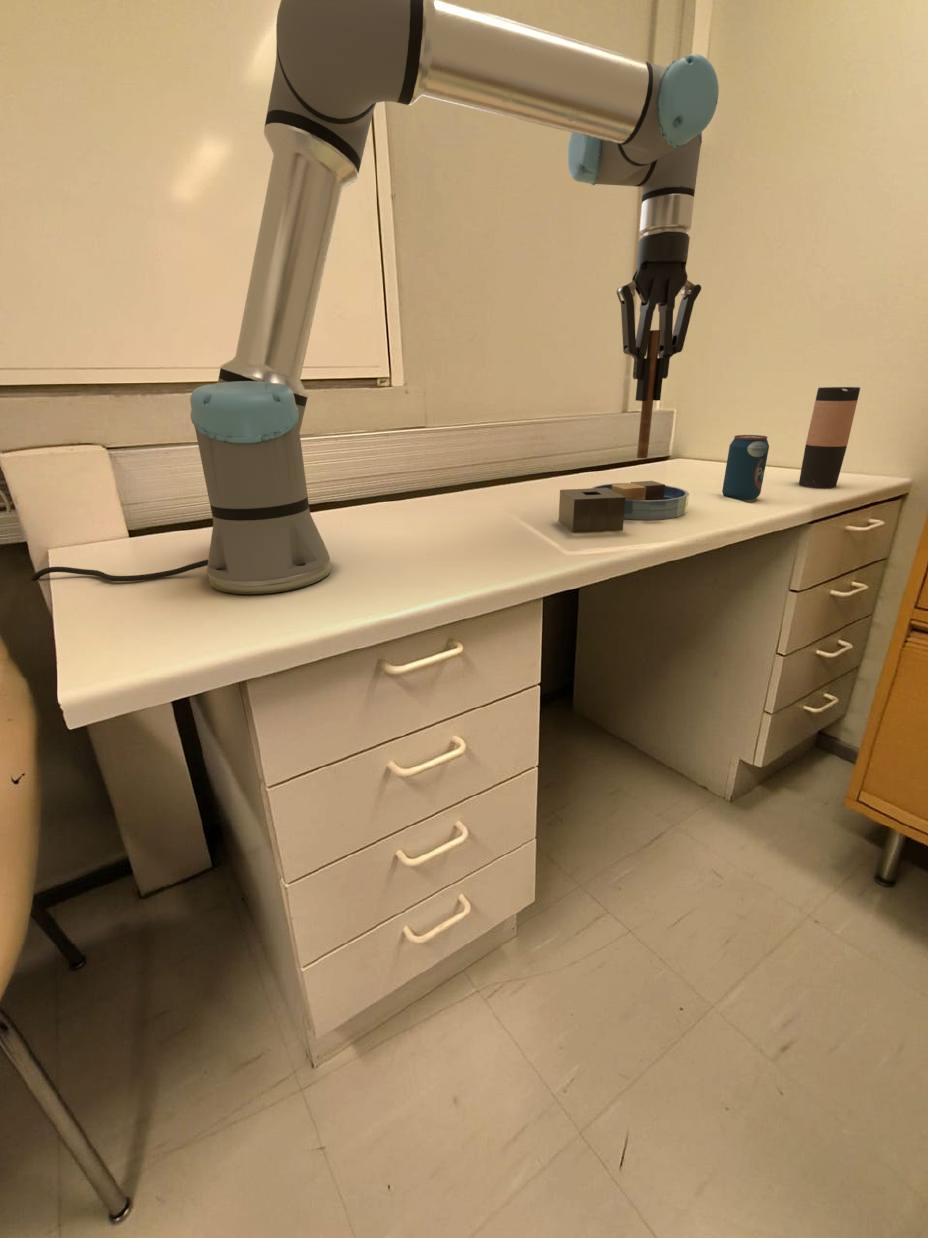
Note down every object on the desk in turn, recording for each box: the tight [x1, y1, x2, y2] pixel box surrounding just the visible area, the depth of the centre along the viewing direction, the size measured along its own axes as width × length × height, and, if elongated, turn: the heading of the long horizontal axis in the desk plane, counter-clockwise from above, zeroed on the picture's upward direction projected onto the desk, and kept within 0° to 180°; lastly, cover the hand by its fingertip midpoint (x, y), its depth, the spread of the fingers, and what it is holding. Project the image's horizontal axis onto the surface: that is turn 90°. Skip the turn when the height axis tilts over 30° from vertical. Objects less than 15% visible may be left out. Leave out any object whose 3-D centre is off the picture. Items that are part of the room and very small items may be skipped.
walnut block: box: [630, 480, 666, 501], centre depth 103 cm, size 4×4×4 cm
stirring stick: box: [636, 329, 660, 459], centre depth 95 cm, size 2×2×20 cm
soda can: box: [721, 434, 770, 503], centre depth 110 cm, size 7×7×12 cm
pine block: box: [611, 482, 646, 500], centre depth 101 cm, size 4×4×4 cm
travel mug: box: [798, 386, 861, 489], centre depth 120 cm, size 8×8×20 cm
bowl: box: [589, 482, 690, 521], centre depth 102 cm, size 17×17×4 cm
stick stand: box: [558, 487, 626, 534], centre depth 91 cm, size 8×8×6 cm
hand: (647, 400), depth 95 cm, fingers closed on stirring stick, 2 cm apart
